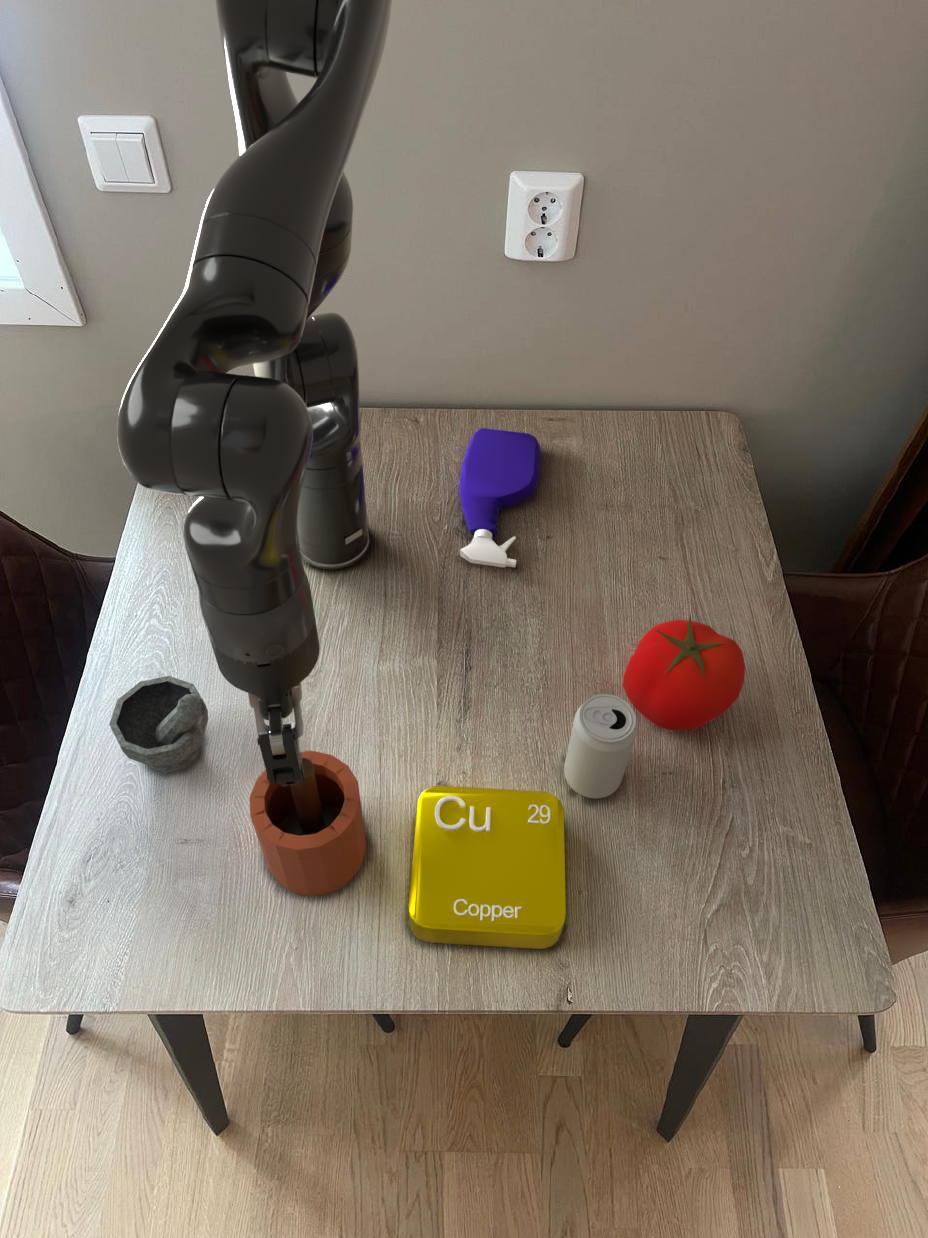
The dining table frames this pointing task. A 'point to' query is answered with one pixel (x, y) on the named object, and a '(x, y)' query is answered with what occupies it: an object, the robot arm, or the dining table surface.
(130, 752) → the mortar and pestle
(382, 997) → the dining table surface
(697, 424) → the dining table surface
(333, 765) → the jar
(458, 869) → the element tile
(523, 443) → the spray bottle
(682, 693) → the tomato
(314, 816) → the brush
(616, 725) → the beverage can
